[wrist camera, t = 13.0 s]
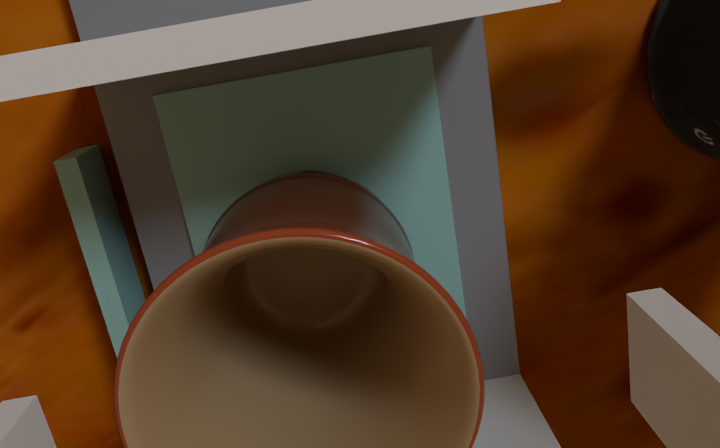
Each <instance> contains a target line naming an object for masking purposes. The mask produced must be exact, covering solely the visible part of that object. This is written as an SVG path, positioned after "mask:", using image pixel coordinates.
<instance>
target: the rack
mask: <svg viewBox="0 0 720 448" xmlns="http://www.w3.org/2000/svg"><path fill="white" fill-rule="evenodd" d="M560 1H561V0H69V3H70V6H71V10H72V13H73V17H74V20H75V23H76V27H77V30H78V34H79V37H80V40H81V42H76V43H71V44H65V45H59V46H54V47H48V48H43V49H37V50H31V51H26V52H20V53H15V54H9V55H3V56H0V102H2V101H8V100H13V99H19V98H24V97H30V96H36V95H41V94H47V93H52V92H58V91H63V90H69V89H75V88H80V87H86V86H91V85H94V88H95V92H96V95H97V98H98V102H99V105H100V109H101V112H102V115H103V119H104V122H105V126H106V129H107V132H108V136H109V139H110V143H111V146H112V149H113V153H114V156H115V160H116V163H117V166H118V170H119V173H120V177H121V180H122V183H123V187H124V190H125V194H126V197H127V200H128V204H129V207H130V211H131V214H132V217H133V221H134V224H135V228H136V231H137V234H138V238H139V241H140V245H141V248H142V251H143V255H144V258H145V262H146V265H147V269H148V272H149V275H150V279H151V282H152V286H153V289H154V290H155V289H156V288H157V287H158V286H159V284H160V283H161V282H162V281H164V280H165V279H166V278H167V277H168V276H169V275H170V274H171V273H173V272H174V271H175V270H176V269H178V268H179V267H180V266H182V265H183V264H184V263H186V262H187V261H189V260H190V259H192V258H193V257H195V256H197V255H199V254H200V253H202V252H203V250H204V247H205V244H206V241H207V239H208V236H209V234H210V232H211V230H212V228H213V227H214V225H215V223H216V222H217V220H218V219H219V217H220V216H221V215H222V213H223V212H224V211H225V210H226V209H227V208H228V207H229V206H230V205H231V204H232V203H233V202H234V201H235V200H237V199H238V198H239V197H240V196H242V195H243V194H245V193H246V192H248V191H249V190H251V189H253V188H254V187H256V186H258V185H260V184H262V183H263V182H265V181H268V180H270V179H272V178H275V177H278V176H281V175H284V174H288V173H294V172H301V171H305V170H317V171H322V172H327V173H331V174H335V175H338V176H341V177H344V178H347V179H349V180H351V181H354V182H356V183H358V184H360V185H361V186H363V187H365V188H366V189H368V190H369V191H370V192H372V193H373V194H374V195H376V196H377V197H378V198H379V199H380V200H381V201H382V202H383V203H384V204H385V205H386V206H387V207H388V208H389V209H390V211H391V212H392V213H393V214H394V215H395V217H396V218H397V219H398V221H399V222H400V224H401V225H402V227H403V229H404V231H405V233H406V235H407V237H408V239H409V242H410V245H411V248H412V252H413V256H414V260H415V263H416V264H417V265H419V266H420V267H422V268H423V269H424V270H425V271H427V272H428V273H429V274H430V275H431V276H432V277H433V278H434V279H436V280H437V281H438V282H439V283H440V285H441V286H442V287H443V288H444V289H445V290H446V291H447V292H448V293H449V294H450V296H451V297H452V298H453V300H454V301H455V303H456V304H457V305H458V307H459V308H460V309H461V311H462V313H463V315H464V316H465V318H466V320H467V321H468V323H469V325H470V328H471V330H472V332H473V334H474V337H475V339H476V342H477V345H478V349H479V352H480V356H481V361H482V366H483V373H484V385H485V389H484V406H483V413H482V419H481V423H480V427H479V431H478V434H477V437H476V440H475V442H474V445H473V447H472V448H561V447H560V445H559V443H558V441H557V439H556V438H555V436H554V434H553V432H552V430H551V429H550V427H549V425H548V423H547V421H546V420H545V418H544V416H543V414H542V412H541V411H540V409H539V407H538V405H537V403H536V402H535V400H534V398H533V396H532V394H531V393H530V391H529V389H528V387H527V385H526V384H525V382H524V380H523V378H522V376H521V375H520V368H519V359H518V349H517V340H516V330H515V321H514V312H513V302H512V293H511V283H510V274H509V264H508V255H507V245H506V236H505V226H504V217H503V207H502V198H501V188H500V179H499V169H498V160H497V150H496V141H495V132H494V122H493V113H492V103H491V94H490V84H489V75H488V65H487V56H486V46H485V37H484V27H483V18H482V15H488V14H493V13H499V12H505V11H510V10H516V9H521V8H527V7H533V6H538V5H544V4H549V3H555V2H560ZM53 163H54V166H55V169H56V172H57V175H58V178H59V181H60V184H61V187H62V191H63V194H64V197H65V200H66V203H67V206H68V209H69V212H70V215H71V218H72V221H73V224H74V227H75V231H76V234H77V237H78V240H79V243H80V246H81V249H82V252H83V255H84V258H85V261H86V264H87V268H88V271H89V274H90V277H91V280H92V283H93V286H94V289H95V292H96V295H97V298H98V301H99V304H100V308H101V311H102V314H103V317H104V320H105V323H106V326H107V329H108V332H109V335H110V338H111V341H112V344H113V348H114V351H115V354H116V357H117V358H118V355H119V351H120V348H121V345H122V342H123V339H124V337H125V335H126V332H127V330H128V328H129V326H130V324H131V322H132V320H133V319H134V317H135V315H136V313H137V312H138V310H139V309H140V307H141V306H142V305H143V303H144V302H145V301H146V300H145V297H144V294H143V290H142V287H141V284H140V280H139V277H138V274H137V270H136V267H135V264H134V260H133V257H132V254H131V250H130V247H129V243H128V240H127V237H126V233H125V230H124V227H123V223H122V220H121V217H120V213H119V210H118V207H117V203H116V200H115V197H114V193H113V190H112V187H111V183H110V180H109V177H108V173H107V170H106V167H105V163H104V160H103V157H102V153H101V150H100V147H99V144H98V145H93V146H87V147H82V148H77V149H75V150H74V151H72V152H70V153H68V154H66V155H64V156H62V157H61V158H59V159H57V160H55V161H53Z"/></svg>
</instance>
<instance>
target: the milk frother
mask: <svg viewBox="0 0 720 448" xmlns="http://www.w3.org/2000/svg"><path fill="white" fill-rule="evenodd" d="M647 75H648V83H649V88H650V91H651V93H652V96H653V101H654V103H655V105H656V107H657V109H658V111H659V113H660V115H661V116H662V118H663V120H664V122H665V123H666V124H667V126H668V127H669V128H670V129H671V130H672V131H673V133H674V134H675V135H676V136H677V137H678V138H679V139H680V140H682V141H683V142H684V143H685V144H687V145H688V146H689V147H690V148H692V149H694V150H696V151H698V152H700V153H701V154H703V155H706V156H709V157H711V158H714V159H717V160H720V0H661V1H660V3H659V5H658V9H657V12H656V14H655V16H654V19H653V23H652V27H651V30H650V33H649V39H648V47H647Z"/></svg>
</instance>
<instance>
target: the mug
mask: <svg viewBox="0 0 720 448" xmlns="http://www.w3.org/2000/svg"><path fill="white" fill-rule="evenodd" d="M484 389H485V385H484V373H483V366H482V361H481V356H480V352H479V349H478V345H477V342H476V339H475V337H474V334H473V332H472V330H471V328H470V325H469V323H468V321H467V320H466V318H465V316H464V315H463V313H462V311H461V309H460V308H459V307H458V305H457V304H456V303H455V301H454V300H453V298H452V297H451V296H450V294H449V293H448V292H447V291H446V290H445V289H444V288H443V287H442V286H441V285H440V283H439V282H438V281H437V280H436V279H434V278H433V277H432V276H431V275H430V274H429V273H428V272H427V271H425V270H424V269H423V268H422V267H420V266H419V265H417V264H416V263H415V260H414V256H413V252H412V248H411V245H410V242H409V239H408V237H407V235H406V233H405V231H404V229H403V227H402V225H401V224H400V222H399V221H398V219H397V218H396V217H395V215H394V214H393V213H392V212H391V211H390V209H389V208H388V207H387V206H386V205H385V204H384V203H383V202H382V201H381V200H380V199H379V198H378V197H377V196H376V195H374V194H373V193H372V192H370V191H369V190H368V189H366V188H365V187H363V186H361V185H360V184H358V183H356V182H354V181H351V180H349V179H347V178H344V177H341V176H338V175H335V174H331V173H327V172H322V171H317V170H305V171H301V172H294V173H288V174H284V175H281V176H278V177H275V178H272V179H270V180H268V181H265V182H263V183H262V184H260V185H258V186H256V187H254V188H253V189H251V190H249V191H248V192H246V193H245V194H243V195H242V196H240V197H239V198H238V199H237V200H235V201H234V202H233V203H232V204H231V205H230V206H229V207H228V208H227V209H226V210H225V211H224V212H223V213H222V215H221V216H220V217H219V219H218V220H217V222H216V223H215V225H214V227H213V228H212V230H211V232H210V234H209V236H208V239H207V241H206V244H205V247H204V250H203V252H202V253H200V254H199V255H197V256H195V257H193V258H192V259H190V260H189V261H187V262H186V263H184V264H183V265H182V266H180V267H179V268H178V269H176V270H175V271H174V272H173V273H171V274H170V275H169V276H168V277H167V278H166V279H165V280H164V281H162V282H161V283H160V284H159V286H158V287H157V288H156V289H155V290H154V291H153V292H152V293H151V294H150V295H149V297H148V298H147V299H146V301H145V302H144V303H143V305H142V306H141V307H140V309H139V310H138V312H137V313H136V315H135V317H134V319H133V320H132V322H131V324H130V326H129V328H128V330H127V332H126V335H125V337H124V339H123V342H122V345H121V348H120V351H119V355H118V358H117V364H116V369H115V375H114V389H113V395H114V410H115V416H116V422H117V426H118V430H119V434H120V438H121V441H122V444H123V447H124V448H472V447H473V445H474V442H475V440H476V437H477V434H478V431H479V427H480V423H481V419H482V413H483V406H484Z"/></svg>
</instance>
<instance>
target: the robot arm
mask: <svg viewBox="0 0 720 448" xmlns="http://www.w3.org/2000/svg"><path fill="white" fill-rule="evenodd" d="M626 298H627V321H628V345H629V369H630V393H631V402H632V403H633V404H634V406H635V407H636V408H637V410H638V411H639V412H640V413H641V415H642V416H643V417H644V419H645V420H646V421H647V423H648V424H649V425H650V426H651V428H652V429H653V430H654V432H655V433H656V434H657V436H658V437H659V438H660V439H661V441H662V442H663V443H664V445H665V446H666V447H667V448H720V336H719V335H717V334H716V333H715V332H714V331H713V330H711V329H710V328H709V327H708V326H707V325H705V324H704V323H703V322H702V321H701V320H699V319H698V318H697V317H696V316H695V315H693V314H692V313H691V312H690V311H689V310H687V309H686V308H685V307H684V306H683V305H681V304H680V303H679V302H678V301H677V300H676V299H674V298H673V297H672V296H671V295H670V294H668V293H667V292H666V291H665V290H664V289H662V288H655V289H650V290H644V291H638V292H632V293H626ZM0 448H56V445H55V442H54V440H53V437H52V435H51V432H50V429H49V427H48V424H47V421H46V419H45V416H44V414H43V411H42V408H41V406H40V403H39V401H38V398H37V395H35V396H29V397H23V398H17V399H12V400H6V401H2V402H1V403H0Z"/></svg>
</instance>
